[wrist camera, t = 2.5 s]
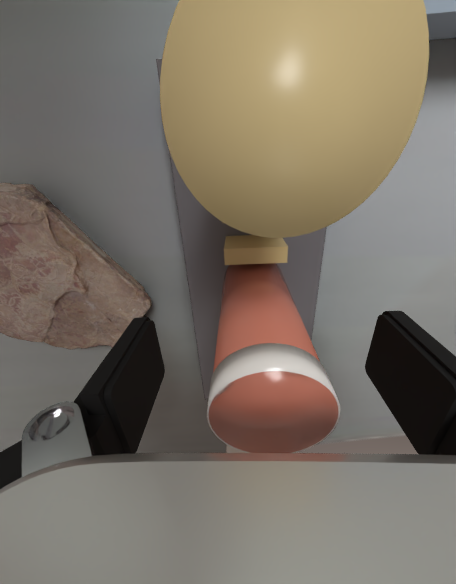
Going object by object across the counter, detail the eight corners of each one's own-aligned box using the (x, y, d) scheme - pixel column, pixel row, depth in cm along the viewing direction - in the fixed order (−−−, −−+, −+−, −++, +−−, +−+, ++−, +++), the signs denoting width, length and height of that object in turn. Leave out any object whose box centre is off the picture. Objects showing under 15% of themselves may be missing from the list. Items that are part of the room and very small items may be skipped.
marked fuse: (220, 254, 14) (199, 370, 6) (285, 251, 14) (351, 368, 6) (224, 308, 16) (212, 455, 8) (281, 307, 16) (330, 455, 8)
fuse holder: (168, 75, 12) (-159, -360, 2) (333, 62, 11) (913, -565, 2) (207, 380, 22) (182, 559, 12) (298, 378, 21) (351, 563, 11)
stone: (144, 185, 15) (127, 189, 12) (164, 339, 20) (154, 363, 18) (-44, 180, 15) (-99, 183, 12) (26, 335, 20) (-2, 358, 18)
